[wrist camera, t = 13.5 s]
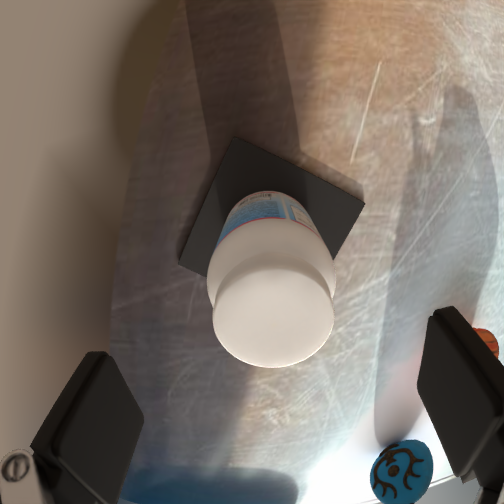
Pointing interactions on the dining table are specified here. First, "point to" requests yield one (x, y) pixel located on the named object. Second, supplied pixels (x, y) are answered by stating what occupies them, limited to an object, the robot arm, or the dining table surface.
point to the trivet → (267, 179)
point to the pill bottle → (271, 282)
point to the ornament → (402, 472)
